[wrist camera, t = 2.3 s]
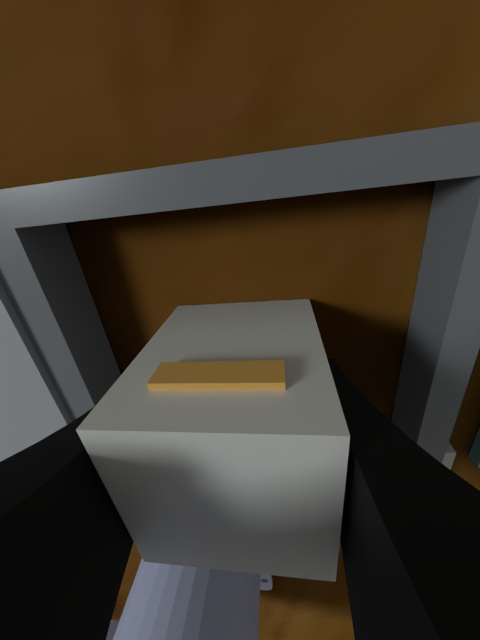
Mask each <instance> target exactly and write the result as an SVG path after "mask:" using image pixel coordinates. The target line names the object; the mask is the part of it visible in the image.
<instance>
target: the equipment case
mask: <svg viewBox="0 0 480 640" xmlns="http://www.w3.org/2000/svg"><path fill="white" fill-rule="evenodd" d="M427 181H436V182H435V188H434V193H433V198H432V204H431V209H430V214H429V220H428V225H427V231H426V236H425V241H424V247H423V252H422V257H421V263H420V268H419V274H418V279H417V284H416V290H415V295H414V300H413V306H412V311H411V317H410V322H409V327H408V333H407V338H406V343H405V349H404V354H403V360H402V365H401V370H400V376H399V381H398V386H397V392H396V397H395V402H394V408H393V413H392V419H391V422H393V423H394V424H395V425H396V426H397V427H398V428H399V429H400V430H401V431H402V432H404V433H405V434H406V435H407V436H408V437H409V438H411V439H412V440H413V441H414V442H415V443H417V444H418V445H419V446H420V447H422V448H423V449H424V450H425V451H426V452H428V453H429V454H430V455H431V456H433V457H434V458H435V459H437V460H438V461H439V462H440V463H442V464H443V465H444V466H446V467H447V468H448V469H450V470H451V467H452V464H453V461H454V459H455V456H456V451H455V450H454V448H453V447H452V445H451V444H450V443H449V440H450V437H451V434H452V431H453V428H454V425H455V422H456V419H457V416H458V413H459V409H460V406H461V403H462V400H463V397H464V394H465V391H466V388H467V385H468V382H469V379H470V376H471V373H472V370H473V367H474V364H475V361H476V358H477V355H478V352H479V349H480V122H474V123H467V124H460V125H452V126H445V127H438V128H431V129H424V130H417V131H410V132H403V133H396V134H389V135H382V136H375V137H368V138H361V139H354V140H347V141H340V142H332V143H325V144H318V145H311V146H304V147H297V148H290V149H283V150H276V151H269V152H262V153H255V154H248V155H241V156H234V157H227V158H220V159H213V160H205V161H198V162H191V163H184V164H177V165H170V166H163V167H156V168H149V169H142V170H135V171H128V172H121V173H114V174H107V175H100V176H93V177H85V178H78V179H71V180H64V181H57V182H50V183H43V184H36V185H29V186H22V187H15V188H8V189H1V190H0V462H1V461H3V460H5V459H6V458H8V457H10V456H12V455H14V454H16V453H18V452H20V451H22V450H24V449H26V448H28V447H29V446H31V445H33V444H35V443H37V442H39V441H40V440H42V439H44V438H46V437H47V436H49V435H51V434H52V433H54V432H56V431H58V430H59V429H61V428H63V427H64V426H66V425H67V424H69V423H71V422H72V421H74V420H75V419H77V418H78V417H80V416H81V415H83V414H84V413H86V412H87V411H89V410H90V409H92V408H93V407H95V406H96V405H97V403H98V402H99V401H100V400H101V399H102V397H103V396H104V395H105V394H106V393H107V391H108V390H109V389H110V388H111V387H112V385H113V384H114V383H115V382H116V381H117V379H118V378H119V377H120V376H121V373H120V371H119V368H118V365H117V363H116V360H115V357H114V355H113V352H112V349H111V347H110V344H109V341H108V338H107V336H106V333H105V330H104V328H103V325H102V322H101V320H100V317H99V314H98V311H97V309H96V306H95V303H94V301H93V298H92V295H91V293H90V290H89V287H88V285H87V282H86V279H85V276H84V274H83V271H82V268H81V266H80V263H79V260H78V258H77V255H76V252H75V250H74V247H73V244H72V241H71V239H70V236H69V233H68V231H67V228H66V225H65V223H66V222H75V221H84V220H93V219H102V218H110V217H119V216H128V215H137V214H146V213H154V212H163V211H172V210H181V209H189V208H198V207H207V206H216V205H225V204H233V203H242V202H251V201H260V200H269V199H277V198H286V197H295V196H304V195H313V194H321V193H330V192H339V191H348V190H357V189H365V188H374V187H383V186H392V185H401V184H409V183H418V182H427Z"/></svg>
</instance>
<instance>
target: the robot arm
mask: <svg viewBox="0 0 480 640" xmlns="http://www.w3.org/2000/svg"><path fill="white" fill-rule="evenodd" d="M327 360H328V363H329V366H330V370H331V373H332V377H333V380H334V383H335V387H336V390H337V393H338V397H339V400H340V403H341V407H342V410H343V414H344V417H345V420H346V424H347V427H348V430H349V434H350V444H349V454H348V464H347V474H346V484H345V494H344V504H343V514H342V524H341V534H340V541H341V548H342V554H343V561H344V567H345V574H346V581H347V587H348V594H349V601H350V607H351V615H352V622H353V629H354V636H355V640H480V491H479V490H478V489H476V488H475V487H474V486H472V485H471V484H469V483H468V482H467V481H465V480H464V479H462V478H461V477H460V476H458V475H457V474H455V473H454V472H453V471H451V470H450V469H448V468H447V467H446V466H444V465H443V464H442V463H440V462H439V461H438V460H437V459H435V458H434V457H433V456H431V455H430V454H429V453H428V452H426V451H425V450H424V449H423V448H422V447H420V446H419V445H418V444H417V443H415V442H414V441H413V440H412V439H411V438H409V437H408V436H407V435H406V434H405V433H404V432H402V431H401V430H400V429H399V428H398V427H397V426H396V425H395V424H394V423H393V422H391V421H390V420H389V419H388V418H387V417H386V416H385V415H384V414H383V413H382V412H381V411H380V410H379V409H378V408H377V407H376V406H375V405H374V404H373V403H372V402H371V401H370V400H369V399H368V398H367V397H366V396H365V395H364V394H363V393H362V392H361V391H360V390H359V389H358V387H357V386H356V385H355V384H354V383H353V382H352V381H351V380H350V378H349V377H348V376H347V375H346V374H345V373H344V371H343V370H342V369H341V368H340V367H339V365H338V364H337V363H336V362H335V361H334V360H333V359H327ZM93 408H94V407H93ZM93 408H92V409H90V410H89V411H87V412H86V413H84V414H83V415H81V416H80V417H78V418H77V419H75V420H74V421H72V422H71V423H69V424H67V425H66V426H64V427H63V428H61V429H59V430H58V431H56V432H54V433H52V434H51V435H49V436H47V437H46V438H44V439H42V440H40V441H39V442H37V443H35V444H33V445H31V446H29V447H28V448H26V449H24V450H22V451H20V452H18V453H16V454H14V455H12V456H10V457H8V458H6V459H5V460H3V461H1V462H0V640H106V638H107V634H108V630H109V626H110V622H111V618H112V615H113V611H114V607H115V604H116V600H117V596H118V593H119V589H120V585H121V582H122V578H123V575H124V572H125V568H126V565H127V561H128V558H129V555H130V551H131V548H132V545H133V539H132V537H131V535H130V533H129V531H128V530H127V528H126V526H125V524H124V522H123V520H122V518H121V516H120V514H119V512H118V510H117V508H116V506H115V505H114V503H113V501H112V499H111V497H110V495H109V493H108V491H107V489H106V487H105V485H104V483H103V481H102V479H101V478H100V476H99V474H98V472H97V470H96V468H95V466H94V464H93V462H92V460H91V458H90V456H89V454H88V453H87V451H86V449H85V447H84V445H83V443H82V441H81V439H80V437H79V435H78V433H77V431H76V429H77V428H78V426H79V425H80V424H81V423H82V422H83V420H84V419H85V418H86V417H87V416H88V414H89V413H90V412H91V411H92V410H93ZM272 586H273V581H272V575H265V574H256V573H246V572H237V571H227V570H218V569H208V568H199V567H189V566H180V565H170V564H161V563H151V562H144V560H143V558H142V560H141V563H140V565H139V568H138V571H137V574H136V576H135V579H134V582H133V585H132V588H131V590H130V593H129V596H128V599H127V601H126V604H125V607H124V610H123V612H122V615H121V618H120V621H119V623H118V626H117V629H116V632H115V635H114V637H113V640H258V631H259V606H260V590H271V589H272Z"/></svg>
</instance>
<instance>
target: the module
mask: <svg viewBox="0 0 480 640" xmlns="http://www.w3.org/2000/svg"><path fill="white" fill-rule="evenodd" d="M76 431H77V433H78V435H79V437H80V439H81V441H82V443H83V445H84V447H85V449H86V451H87V453H88V454H89V456H90V458H91V460H92V462H93V464H94V466H95V468H96V470H97V472H98V474H99V476H100V478H101V479H102V481H103V483H104V485H105V487H106V489H107V491H108V493H109V495H110V497H111V499H112V501H113V503H114V505H115V506H116V508H117V510H118V512H119V514H120V516H121V518H122V520H123V522H124V524H125V526H126V528H127V530H128V531H129V533H130V535H131V537H132V539H133V541H134V543H135V545H136V547H137V549H138V551H139V553H140V555H141V557H142V558H143V560H144V562H151V563H161V564H170V565H180V566H189V567H199V568H208V569H218V570H227V571H237V572H246V573H256V574H265V575H275V576H284V577H294V578H303V579H313V580H322V581H332V582H336V574H337V564H338V554H339V544H340V534H341V524H342V514H343V504H344V494H345V484H346V474H347V464H348V454H349V444H350V434H349V430H348V427H347V424H346V420H345V417H344V414H343V410H342V407H341V403H340V400H339V397H338V393H337V390H336V387H335V383H334V380H333V377H332V373H331V370H330V366H329V363H328V360H327V356H326V353H325V350H324V346H323V343H322V340H321V336H320V333H319V330H318V326H317V323H316V319H315V316H314V313H313V309H312V306H311V303H310V299H298V300H279V301H261V302H243V303H224V304H206V305H188V306H178V307H177V308H176V309H175V310H174V312H173V313H172V314H171V315H170V317H169V318H168V319H167V320H166V321H165V323H164V324H163V325H162V326H161V327H160V329H159V330H158V331H157V332H156V333H155V335H154V336H153V337H152V338H151V339H150V341H149V342H148V343H147V344H146V346H145V347H144V348H143V349H142V350H141V352H140V353H139V354H138V355H137V356H136V358H135V359H134V360H133V361H132V362H131V364H130V365H129V366H128V367H127V368H126V370H125V371H124V372H123V373H122V374H121V376H120V377H119V378H118V379H117V381H116V382H115V383H114V384H113V385H112V387H111V388H110V389H109V390H108V391H107V393H106V394H105V395H104V396H103V397H102V399H101V400H100V401H99V402H98V403H97V405H96V406H95V407H94V408H93V410H92V411H91V412H90V413H89V414H88V416H87V417H86V418H85V419H84V420H83V422H82V423H81V424H80V425H79V426H78V428H77V429H76Z"/></svg>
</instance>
